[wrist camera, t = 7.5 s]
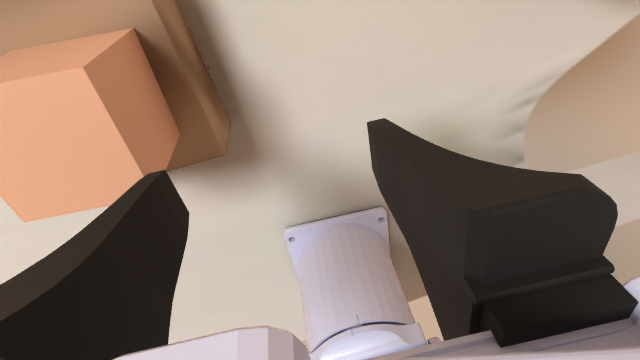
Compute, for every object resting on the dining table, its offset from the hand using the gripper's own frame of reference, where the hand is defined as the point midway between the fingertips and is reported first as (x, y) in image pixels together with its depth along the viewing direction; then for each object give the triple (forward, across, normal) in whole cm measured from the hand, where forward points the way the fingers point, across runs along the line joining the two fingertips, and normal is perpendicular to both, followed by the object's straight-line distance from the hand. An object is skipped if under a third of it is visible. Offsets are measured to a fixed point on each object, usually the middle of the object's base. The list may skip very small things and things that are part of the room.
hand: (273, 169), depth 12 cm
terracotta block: (+6, +7, -2) cm, 9 cm away
